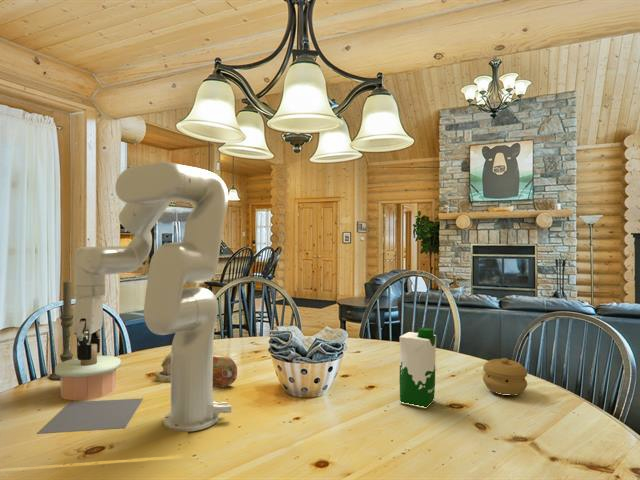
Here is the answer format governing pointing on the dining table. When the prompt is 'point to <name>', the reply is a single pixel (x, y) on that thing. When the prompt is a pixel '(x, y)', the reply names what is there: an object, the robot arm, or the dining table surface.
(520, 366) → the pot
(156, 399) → the dining table surface
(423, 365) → the milk carton
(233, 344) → the dining table surface
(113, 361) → the lid
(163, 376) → the ceramic model
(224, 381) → the tin
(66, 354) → the candlestick holder
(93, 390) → the bowl
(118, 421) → the mat
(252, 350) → the dining table surface
